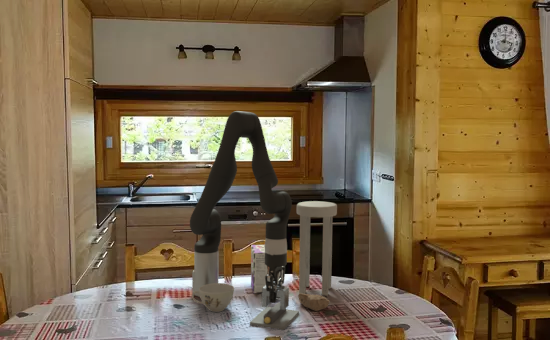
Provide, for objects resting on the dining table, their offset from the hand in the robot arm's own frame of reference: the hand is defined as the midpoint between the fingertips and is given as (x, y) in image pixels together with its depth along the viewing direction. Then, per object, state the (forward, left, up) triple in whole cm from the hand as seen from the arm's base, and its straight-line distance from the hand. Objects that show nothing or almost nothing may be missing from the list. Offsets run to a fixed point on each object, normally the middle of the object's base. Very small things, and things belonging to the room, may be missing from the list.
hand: (275, 299), depth 183 cm
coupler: (0, 0, -7) cm, 7 cm away
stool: (+4, +36, -7) cm, 37 cm away
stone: (+9, +17, -7) cm, 20 cm away
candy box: (-18, +30, -7) cm, 36 cm away
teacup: (-24, +1, -7) cm, 25 cm away
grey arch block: (0, 0, -2) cm, 2 cm away
